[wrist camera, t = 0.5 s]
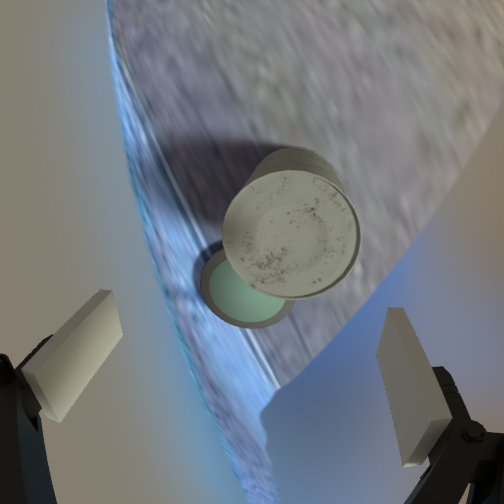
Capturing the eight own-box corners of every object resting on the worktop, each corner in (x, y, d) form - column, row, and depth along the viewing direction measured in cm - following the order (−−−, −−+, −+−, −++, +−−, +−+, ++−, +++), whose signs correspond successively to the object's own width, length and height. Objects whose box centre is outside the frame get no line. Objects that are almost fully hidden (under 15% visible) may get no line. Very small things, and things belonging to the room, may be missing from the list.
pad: (273, 226, 34) (272, 231, 33) (310, 306, 38) (310, 314, 37) (187, 259, 38) (183, 265, 36) (229, 330, 41) (226, 338, 40)
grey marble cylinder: (236, 162, 32) (201, 194, 21) (327, 135, 30) (344, 152, 19) (265, 245, 36) (247, 311, 25) (350, 224, 33) (372, 284, 22)
